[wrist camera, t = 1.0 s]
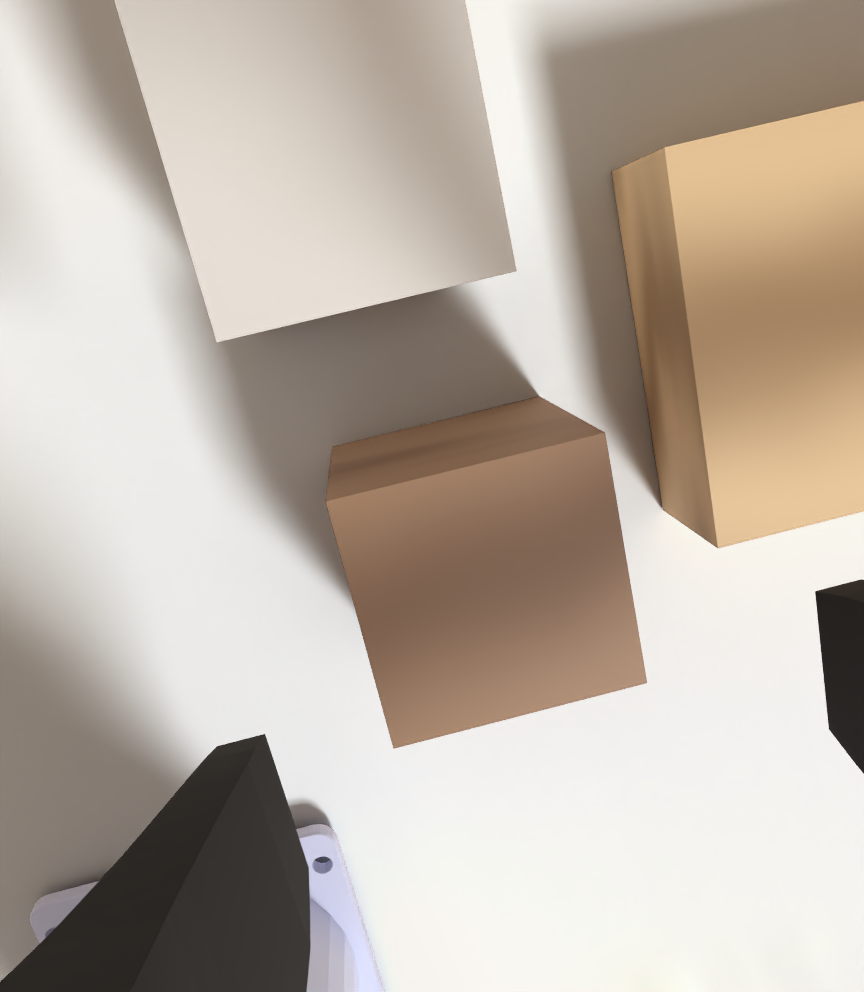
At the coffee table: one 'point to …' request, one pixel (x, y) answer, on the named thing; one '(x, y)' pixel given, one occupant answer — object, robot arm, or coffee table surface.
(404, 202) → the grey cube
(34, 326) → the coffee table surface
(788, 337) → the oak base
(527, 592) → the walnut cube
